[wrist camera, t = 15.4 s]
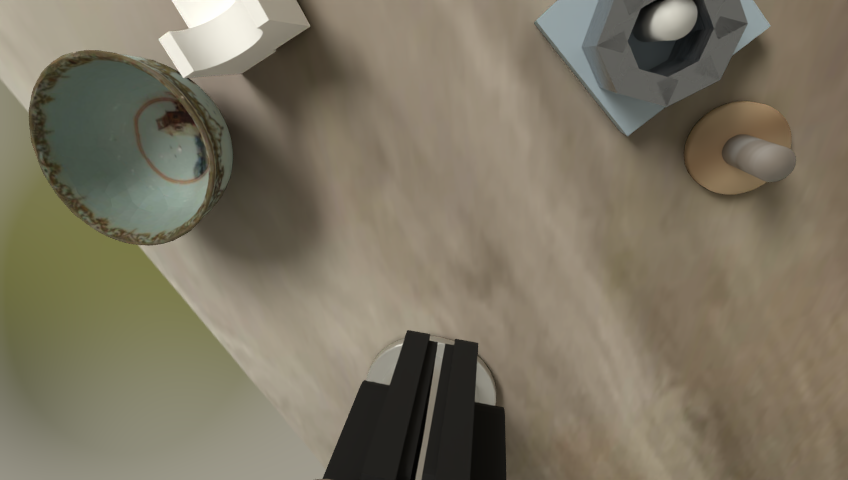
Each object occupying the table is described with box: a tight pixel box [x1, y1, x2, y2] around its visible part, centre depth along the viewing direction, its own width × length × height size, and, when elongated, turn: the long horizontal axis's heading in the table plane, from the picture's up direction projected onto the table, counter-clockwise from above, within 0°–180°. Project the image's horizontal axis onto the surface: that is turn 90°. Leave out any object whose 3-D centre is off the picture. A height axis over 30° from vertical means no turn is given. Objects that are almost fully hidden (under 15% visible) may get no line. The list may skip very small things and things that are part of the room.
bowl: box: [29, 50, 233, 245], centre depth 35 cm, size 14×13×8 cm
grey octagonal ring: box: [581, 0, 748, 107], centre depth 27 cm, size 7×7×5 cm
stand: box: [684, 101, 796, 194], centre depth 30 cm, size 6×6×6 cm
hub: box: [534, 0, 770, 136], centre depth 28 cm, size 10×10×6 cm
